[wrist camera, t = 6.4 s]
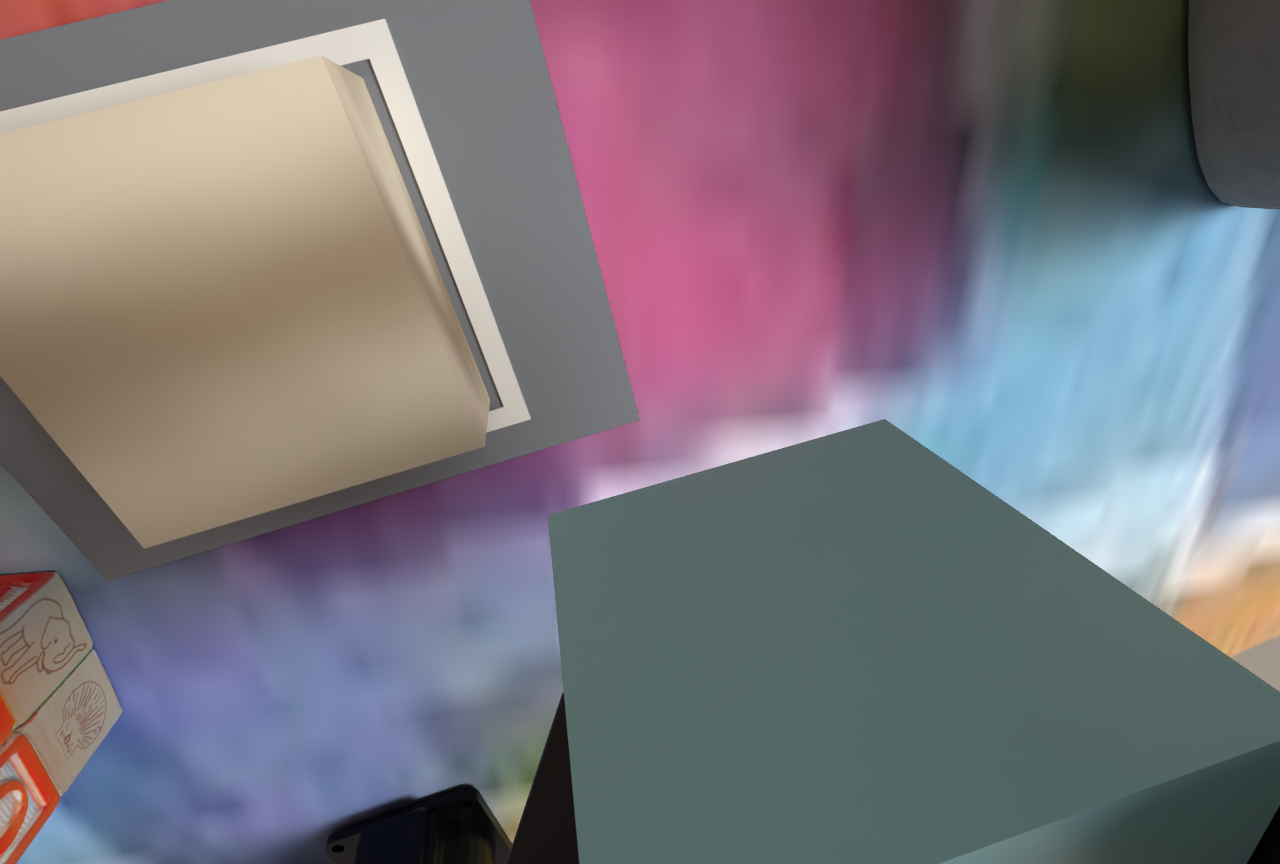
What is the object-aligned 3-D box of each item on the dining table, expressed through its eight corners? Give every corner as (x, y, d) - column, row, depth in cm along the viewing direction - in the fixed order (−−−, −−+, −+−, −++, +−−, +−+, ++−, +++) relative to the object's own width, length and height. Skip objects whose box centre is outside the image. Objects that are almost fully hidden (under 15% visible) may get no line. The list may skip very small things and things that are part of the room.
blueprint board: (633, 407, 18) (640, 421, 17) (129, 559, 17) (105, 583, 16) (509, -62, 13) (508, -82, 12) (-250, 117, 12) (-322, 112, 11)
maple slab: (490, 399, 16) (485, 446, 13) (207, 482, 16) (144, 548, 13) (362, 77, 12) (321, 54, 10) (-15, 172, 12) (-168, 174, 9)
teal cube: (885, 656, 10) (1158, 1020, 6) (624, 740, 10) (711, 1199, 6) (884, 418, 8) (1325, 725, 4) (548, 515, 8) (590, 987, 3)
